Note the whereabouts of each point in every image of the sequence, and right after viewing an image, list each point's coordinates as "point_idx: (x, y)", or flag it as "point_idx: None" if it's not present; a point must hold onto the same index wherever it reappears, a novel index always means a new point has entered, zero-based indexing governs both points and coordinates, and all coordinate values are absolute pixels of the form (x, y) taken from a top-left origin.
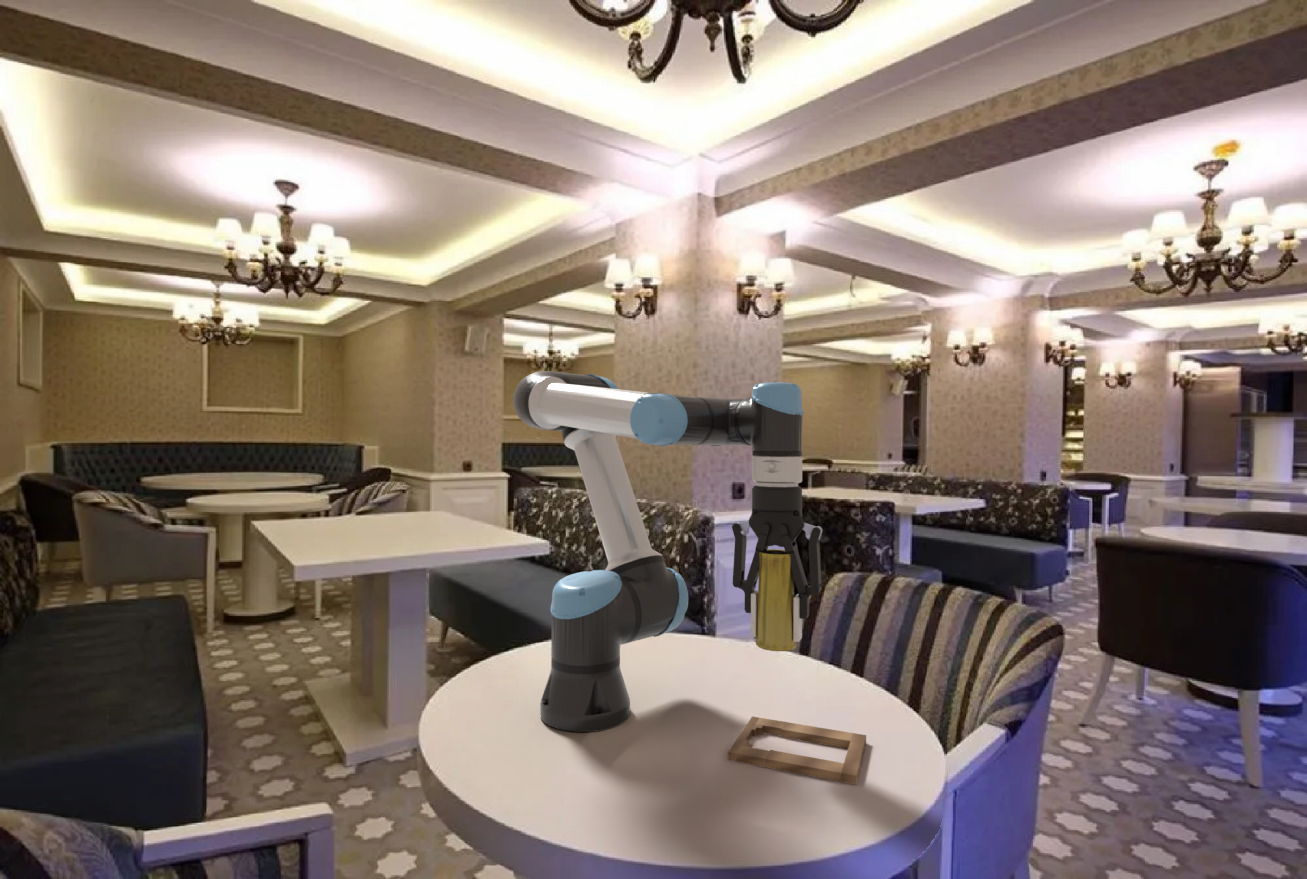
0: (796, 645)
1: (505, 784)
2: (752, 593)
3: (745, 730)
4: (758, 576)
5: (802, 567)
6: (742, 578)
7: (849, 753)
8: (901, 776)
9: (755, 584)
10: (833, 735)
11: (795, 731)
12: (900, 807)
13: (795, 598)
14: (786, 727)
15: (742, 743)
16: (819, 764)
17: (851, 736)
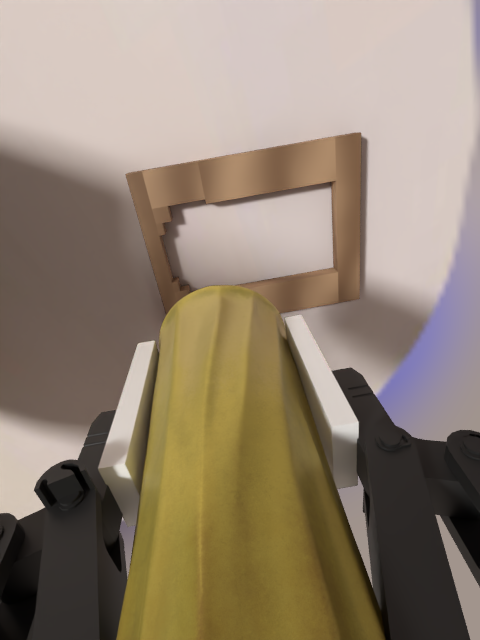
0: (284, 326)
1: (4, 495)
2: (129, 518)
3: (152, 248)
4: (98, 557)
5: (457, 608)
6: (6, 565)
7: (341, 234)
8: (414, 233)
9: (101, 517)
10: (302, 173)
11: (232, 197)
12: (409, 316)
13: (341, 485)
14: (211, 189)
15: (175, 296)
16: (305, 295)
17: (334, 157)
